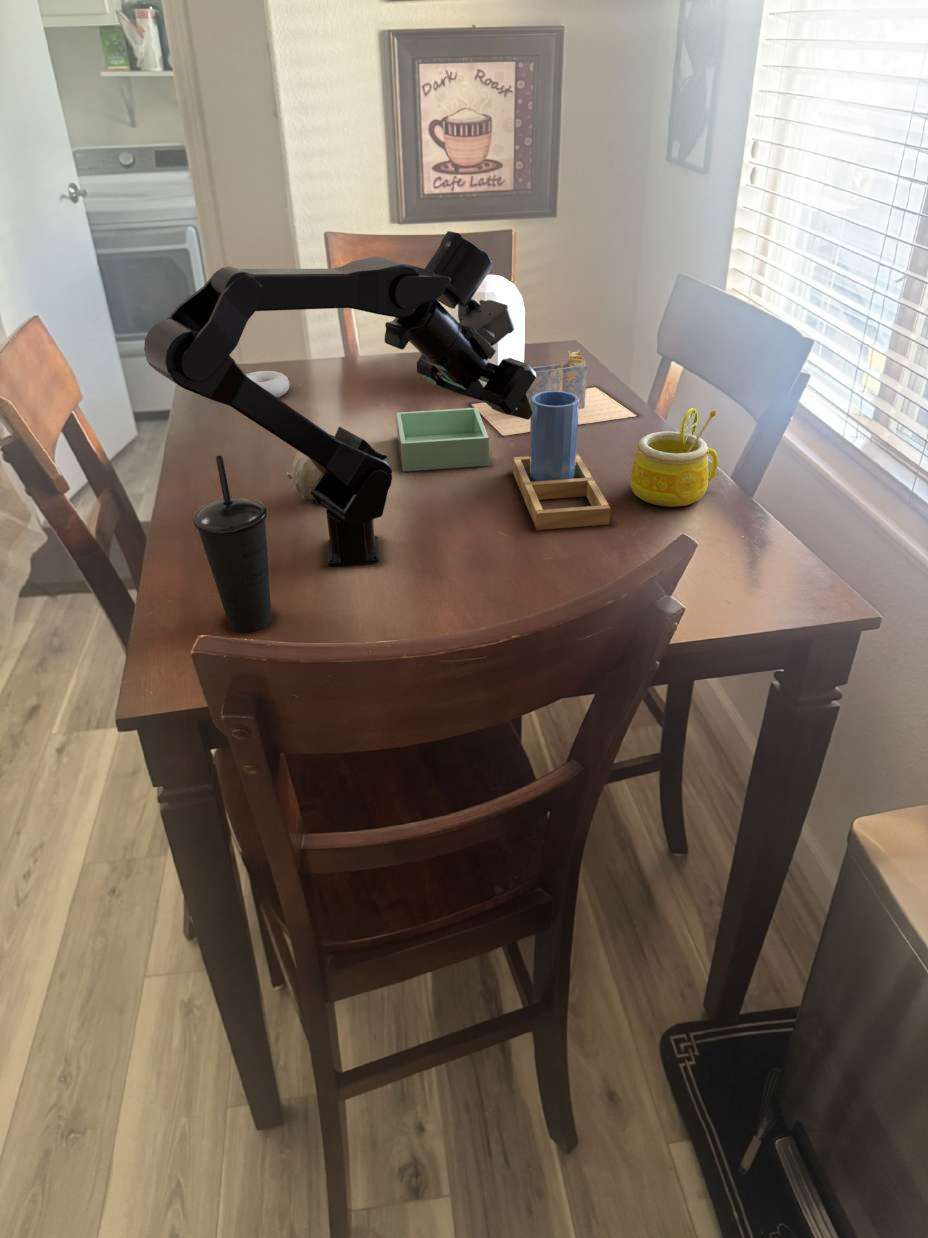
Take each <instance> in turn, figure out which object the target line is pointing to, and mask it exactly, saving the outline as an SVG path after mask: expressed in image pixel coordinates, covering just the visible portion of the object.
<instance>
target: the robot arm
mask: <svg viewBox="0 0 928 1238" xmlns="http://www.w3.org/2000/svg"><path fill="white" fill-rule="evenodd" d="M493 266H494V264H493V261H492V259H491V258H490V256H489V255H488V254H487V252H486V251H483V250H481V249H479V247H477V246H476V245H475V244H473V243H472V242H470V241H469V240H467V239H465V238H464V237H463V236H462V235H461V234H460V233H459V232H455V231H450V230H448V231H447V232H446V233H445V234H444V235H443V237H442V239H441V242H440V244H439V246H438V248H437V249H436V251H435V253H434V254H433V255H432V256H431V259H430V260H429V262H428V263H427V265H426V266H425V268H423V267H419V266H415V265H412V264H408V263H404V262H400V261H397V260H393V259H390V258H386V257H383V256H379V255H377V256H370V257H367V258H362V259H361V258H360V259H358V260H353V261H349V262H348V263H346V264H344V265H341V266H338V267H337V266H336V267H333V268H237V267H233V266H225V267H221V268H219V269H218V270H217V271H215V272H214V273H213V274H212V275H211V276H210V277H209V279H208V280H207V281H206V283H204V285H203V286H202V287H201V288H199V289H198V290H197V291H195V292H194V293H193V294H191V295H190V296H189V297H187V298H186V299H184V300H183V301H182V302H181V303H180V304H178V305H177V307H175V309H174V310H173V311H172V313H171V314H169V316H168V317H167V318H166V319H164V320H161V321H158V322H156V324H154V325H153V326H152V327H151V328H150V329H149V330H148V332H147V334H146V336H145V339H144V348H143V351H144V354H145V360H146V362H147V364H148V365H149V366H150V367H151V368H152V369H153V370H154V371H156V372H157V373H159V374H160V375H162V376H163V377H165V378H167V379H168V380H169V381H170V382H172V383H174V384H176V385H177V386H178V387H180V388H182V389H184V390H186V391H189V392H191V393H193V394H196V395H199V396H201V397H203V398H206V399H208V400H211V401H214V402H217V403H219V404H223V405H226V406H228V407H231V408H232V409H234V410H235V411H236V412H238V413H240V414H241V415H243V416H244V417H246V418H247V419H249V420H250V421H252V422H254V423H255V424H257V425H258V426H260V427H261V428H262V429H264V430H266V431H268V432H269V433H270V434H272V435H274V436H275V437H277V438H278V439H280V440H281V441H283V442H285V443H286V444H287V445H289V446H290V447H292V448H293V449H295V450H296V451H297V452H298V451H300V452H301V453H303V454H304V455H306V456H307V457H308V458H309V459H310V460H311V461H312V462H313V463H314V465H315V466H316V467H317V468H318V470H319V471H320V472H321V473H322V474H321V476H320V477H319V479H318V480H317V482H316V484H315V485H314V487H313V488H312V490H311V494H312V495H313V497H314V499H313V500H314V501H315V503H316V504H318V505H319V506H321V507H323V508H324V509H326V510H325V512H326V520H327V521H326V522H327V529H328V537H329V538H328V540H327V566H329V567H339V566H352V565H364V564H377V563H379V562H380V559H381V558H380V549H379V548H380V547H379V537H378V536H377V535H375V528H374V527H375V526H374V520H376V519H378V518H381V517H383V515H384V510H385V506H386V503H387V499H388V493H389V490H390V487H391V486H392V481H393V469H392V466H391V465H390V464H389V463H388V462H387V461H385V460H386V459H388V455H387V454H385V453H383V452H381V451H380V450H378V449H376V448H374V447H372V446H371V444H369V442H367V441H366V440H365V439H364V438H361V437H360V436H358V435H356V434H355V433H353V432H351V431H349V430H348V429H346V428H343V427H342V426H338V427H337V430H336V432H335V435H333V434H330V433H328V432H327V431H326V430H324V429H323V428H322V427H320V426H318V425H317V424H315V423H314V422H313V421H311V420H310V419H308V418H307V417H305V416H304V415H302V414H301V413H300V412H299V411H297V410H295V409H294V408H292V407H291V406H290V405H288V404H287V403H286V402H284V401H282V400H281V399H280V398H279V397H278V398H277V397H275V396H274V395H272V394H271V393H270V392H268V391H267V390H265V389H264V388H262V387H261V386H259V385H258V384H257V383H255V382H254V381H252V380H251V379H250V378H248V377H247V376H246V374H247V373H245V372H244V370H242V368H241V367H240V366H239V364H238V363H237V362H236V361H235V359H234V358H233V357H232V356H231V354H232V353H233V351H234V350H235V349H236V348H237V346H238V344H239V342H240V339H241V337H242V335H243V332H244V330H245V328H246V325H247V324H248V321H249V320H250V318H252V316H253V315H254V314H255V313H256V312H273V311H295V310H296V311H301V310H302V311H304V310H326V309H327V310H329V309H351V310H356V311H362V312H366V313H371V314H375V315H380V316H386V317H391V318H394V319H393V320H391V321H386V322H385V324H384V326H385V333H384V343H385V344H386V345H389V346H392V347H394V348H396V349H399V350H404V349H405V348H406V347H407V345H408V344H409V343H410V344H411V345H412V346H413V347H414V348H415V349H416V350H417V351H418V352H419V353H420V354H421V355H420V357H419V358H418V360H417V361H416V373H417V375H419V376H420V377H422V379H424V381H427V382H429V383H432V384H433V385H435V386H437V387H440V388H443V389H445V390H448V391H451V392H453V393H457V394H460V395H463V396H466V397H470V398H472V399H475V400H477V401H482V402H483V403H484V402H485V403H487V404H488V405H489V406H491V407H492V409H494V410H496V411H498V412H501V413H503V414H507V415H512V416H516V417H520V418H523V419H527V420H529V419H530V417H531V416H532V414H533V412H532V409H531V406H530V403H529V400H528V397H527V394H526V392H527V391H528V389H529V388H530V386H531V385H532V383H533V382H534V380H535V379H536V372H535V371H534V370H533V367H531V365H530V364H529V363H527V362H525V361H524V362H521V361H518V360H515V359H513V358H507V359H503V360H502V361H501V363H500V364H499V366H498V365H495V364H492V363H490V362H487V360H488V359H491V358H492V357H493V355H494V354H495V352H496V350H495V349H494V348H493V347H492V346H493V345H495V344H496V343H497V342H499V341H500V340H501V339H502V338H503V337H505V336H506V335H507V334H508V333H512V332H513V331H514V329H515V326H514V323H513V320H512V317H511V314H510V311H509V309H508V306H507V305H506V304H503V303H499V302H496V301H492V300H487V301H484V300H480V301H479V303H480V304H479V303H477V302H476V301H475V300H473V299H471V298H472V297H473V295H474V294H475V292H476V291H477V289H478V288H479V286H480V285H481V283H482V282H483V280H484V279H485V277H486V276H487V275H489V273H490V272H491V270H492V269H493ZM457 304H458V318H459V321H460V322H459V323H458V322H457V321H456V320H455V319H454V318H453V315H452V314H451V313H450V312H449V311H448V310H447V309H446V308H449V309H453V310H454V309H455V307H456V306H457ZM444 306H445V307H446V308H445V307H444ZM479 380H482V381H484V382H487V384H486V385H485V387H484V386H483V385H482V384H481V382H480V381H479Z"/></svg>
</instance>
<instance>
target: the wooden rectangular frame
mask: <svg viewBox="0 0 928 1238" xmlns="http://www.w3.org/2000/svg"><path fill="white" fill-rule="evenodd" d="M529 464H530V455H527V456H515V457H514V456H513V457H512V474H513V476H514V479H515V481H516V484H517V487H518V489H519V492H520V494H521V496H522V498H523V500H524V504H525V505H526V508H527V510H528V513H529V515H530V517H531V520H532V522H533V524H534V527H535V530H536V531H542V530H543V531H544V530H554V529H556V530H557V529H567V528H580V527H581V528H582V527H594V526H606V525H610V521H611V506H610V505H609V503H608V501H607V500H606V498H605V495H603V493H602V491H601V489H600V488H599V486H598V485H597V482H596V481H595V480H594V478H593V476H592V474H591V473H590V471H589V470H588V468H587V466H586V464H585V462H584V461H583V460H582V457H581V456H580V454H579V453H578V452H576V466H575V479H563V480H549V481H535V482H530V479H529ZM582 497H584V498H585V497H586V499H587V500H588V502H589V504H590V505H587V506H574V507H565V508H564V507H561V508H547V509H543V506H542V504H541V502H540V501H541V500H553V499H554V500H555V499H567V498H569V499H570V498H582Z"/></svg>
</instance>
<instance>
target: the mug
mask: <svg viewBox="0 0 928 1238" xmlns="http://www.w3.org/2000/svg"><path fill="white" fill-rule="evenodd" d="M698 413H699V412H698V410H697V409H696V408H693V407H691V408H689V409H688V410H687V412H686V413H685V415H684V416H683V418H682V422H681V426H680V431H673V430H671V431H669V430H666V431H657V432H653V433H648V434H647V435H645V436H643V437H642V438H640V439H639V441H638V442H637V444H636V448H637V452H636V454H635V456H634V460H633V464H632V468H631V473H630V479H629V480H630V483H629V484H630V488H631V491H632V493H633V494H634V495H635V496H636V497H637V498H639V499H640V500H642V501H644V502H645V503H648V504H651V505H656V506H660V507H666V508H667V507H668V508H677V507H685V506H689V505H692V504H694V503H696V502H698V501H701V499H703V497H704V496H705V495H706V494H705V493H706V492H707V490H708V485H709V482H710V481H712V480H713V479H714V478H715V476H716V474H717V471H718V465H719V463H718V461H719V460H718V459H719V458H718V453H717V451H715V449H713V448H711V447H709V445H708V444H707V443H706V441H705V440H704V439H702V438H701V436H702V435H703V433H704V432H705V430H706V428H707V426H708V425H709V423H710V421H711V420H712V418H714V417H716V415H717V411H716V410H715V409H713V410H711V411H710V412H709V417H708V418H707V420H706V421H705V424H704V425H703V426H702V428H701V430H700V431H699V433H698V434H697V436H696V435H695V434H696V431H697V429H698V423H699V414H698ZM691 419H692V421H691ZM686 424H687V425H686ZM691 428H692V429H691ZM708 454H709V455H710V456H711V468H710V472H709V457H708Z"/></svg>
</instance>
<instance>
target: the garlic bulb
mask: <svg viewBox="0 0 928 1238" xmlns="http://www.w3.org/2000/svg"><path fill="white" fill-rule="evenodd" d="M321 474H322V473H321V472H320V471H319V470H318V468H317V467H316V466H315V465H314V463H313V462H312V461H311V460H310V459H309V458H308V457H307V456H306V455H304V454H303V453H301V452H300V451H298V450H297V453H296V454H295V457H294V460H293V463H292V469H291V472H290V471H287V472H286V477H287V478H288V479H289V480H292V481H293V484H294V485H295V486H294V487H295V490H296V492H297V493H299V494H300V496H301V498H302V499H303V500H305V501H308V500H315V499H314V497H313V495H312V494H311V490H312V488H313V487H314V485H315V484H316V482H317V480H318V479H319V477H320V476H321Z"/></svg>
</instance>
